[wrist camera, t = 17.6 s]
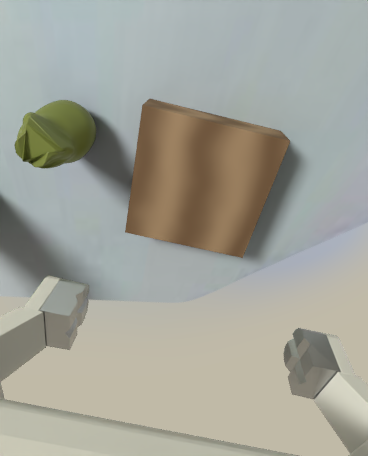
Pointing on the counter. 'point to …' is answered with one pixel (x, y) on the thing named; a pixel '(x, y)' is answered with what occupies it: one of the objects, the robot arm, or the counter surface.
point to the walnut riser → (201, 177)
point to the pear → (55, 134)
